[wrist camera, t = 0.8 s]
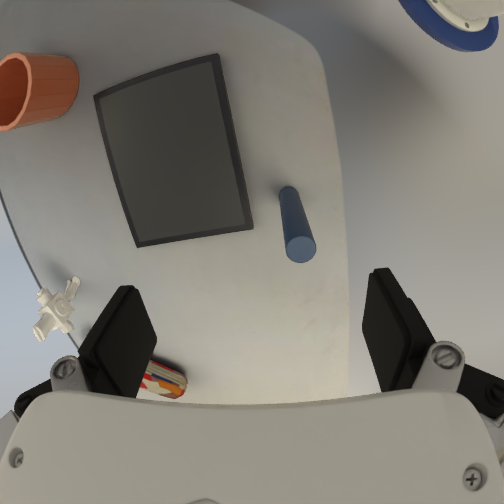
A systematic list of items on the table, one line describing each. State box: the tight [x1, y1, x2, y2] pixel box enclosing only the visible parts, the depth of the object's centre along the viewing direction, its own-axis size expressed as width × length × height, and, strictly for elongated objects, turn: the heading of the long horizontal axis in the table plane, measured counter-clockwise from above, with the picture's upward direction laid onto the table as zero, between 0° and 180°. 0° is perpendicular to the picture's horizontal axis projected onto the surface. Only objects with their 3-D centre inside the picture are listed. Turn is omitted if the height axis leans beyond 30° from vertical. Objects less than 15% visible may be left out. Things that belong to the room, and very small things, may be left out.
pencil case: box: [140, 360, 188, 399], centre depth 45 cm, size 11×20×5 cm, turn 50°
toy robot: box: [33, 276, 80, 342], centre depth 35 cm, size 4×8×12 cm, turn 28°
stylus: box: [279, 187, 316, 263], centre depth 26 cm, size 2×2×13 cm
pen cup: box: [0, 52, 79, 131], centre depth 22 cm, size 9×9×9 cm
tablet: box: [93, 53, 254, 248], centre depth 30 cm, size 20×15×1 cm
